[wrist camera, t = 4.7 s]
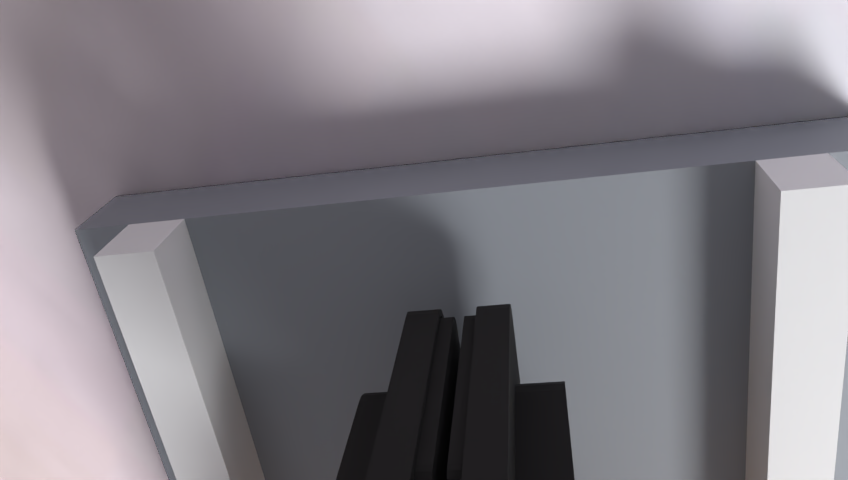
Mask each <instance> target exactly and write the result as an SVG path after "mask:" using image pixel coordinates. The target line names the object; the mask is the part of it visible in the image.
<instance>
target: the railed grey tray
mask: <svg viewBox="0 0 848 480" xmlns="http://www.w3.org/2000/svg"><path fill="white" fill-rule="evenodd" d="M75 232H76V235H77V237H78V240H79V243H80V245H81V248H82V251H83V253H84V256H85V259H86V261H87V264H88V267H89V269H90V272H91V274H92V277H93V280H94V282H95V285H96V288H97V290H98V293H99V296H100V298H101V301H102V304H103V306H104V309H105V312H106V314H107V317H108V319H109V322H110V325H111V327H112V330H113V333H114V335H115V338H116V341H117V343H118V346H119V349H120V351H121V354H122V356H123V359H124V362H125V364H126V367H127V370H128V372H129V375H130V378H131V380H132V383H133V386H134V388H135V391H136V394H137V396H138V399H139V401H140V404H141V407H142V409H143V412H144V415H145V417H146V420H147V423H148V425H149V428H150V431H151V433H152V436H153V438H154V441H155V444H156V446H157V449H158V452H159V454H160V457H161V460H162V462H163V465H164V468H165V470H166V473H167V476H168V478H169V480H336V477H337V474H338V471H339V467H340V464H341V461H342V457H343V454H344V451H345V447H346V444H347V440H348V437H349V434H350V430H351V427H352V424H353V420H354V417H355V413H356V410H357V407H358V403H359V400H360V398H361V396H362V395H363V394H364V393H376V392H387V391H388V387H389V383H390V379H391V375H392V371H393V367H394V363H395V359H396V355H397V351H398V347H399V343H400V339H401V334H402V330H403V326H404V322H405V318H406V315H407V312H409V311H422V310H435V309H441V310H442V312H443V315H444V318H446V317H455V319H456V323H457V329H458V336H459V343H460V348H461V339H462V331H463V322H464V316H473V315H476V308H477V306H488V305H501V304H511V309H512V316H513V325H514V333H515V342H516V350H517V359H518V367H519V376H520V384H527V383H544V382H561V381H565V388H566V398H567V408H568V418H569V428H570V438H571V448H572V458H573V468H574V478H575V480H848V117H841V118H832V119H823V120H813V121H804V122H795V123H786V124H777V125H768V126H758V127H749V128H740V129H731V130H722V131H712V132H703V133H694V134H685V135H676V136H666V137H657V138H648V139H639V140H630V141H621V142H611V143H602V144H593V145H584V146H575V147H565V148H556V149H547V150H538V151H529V152H520V153H510V154H501V155H492V156H483V157H474V158H464V159H455V160H446V161H437V162H428V163H419V164H409V165H400V166H391V167H382V168H373V169H363V170H354V171H345V172H336V173H327V174H317V175H308V176H299V177H290V178H281V179H272V180H262V181H253V182H244V183H235V184H226V185H216V186H207V187H198V188H189V189H180V190H171V191H161V192H152V193H143V194H134V195H125V196H116V197H115V198H113V199H112V200H111V201H110V202H109V203H107V204H106V205H105V206H104V207H102V208H101V209H100V210H99V211H98V212H96V213H95V214H94V215H93V216H91V217H90V218H89V219H88V220H86V221H85V222H84V223H83V224H82V225H80V226H79V227H78V228H77V229H75Z"/></svg>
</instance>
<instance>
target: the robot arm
mask: <svg viewBox="0 0 848 480" xmlns="http://www.w3.org/2000/svg"><path fill="white" fill-rule="evenodd" d="M336 480H575V478H574V468H573V458H572V448H571V438H570V428H569V418H568V408H567V398H566V388H565V381H561V382H544V383H527V384H520V376H519V367H518V359H517V350H516V342H515V333H514V325H513V316H512V309H511V304H501V305H488V306H477V308H476V315H473V316H464V322H463V331H462V339H461V348H460V343H459V336H458V329H457V323H456V319H455V317H446V318H444V315H443V312H442V310H441V309H435V310H422V311H409V312H407V315H406V318H405V322H404V326H403V330H402V334H401V339H400V343H399V347H398V351H397V355H396V359H395V363H394V367H393V371H392V375H391V379H390V383H389V387H388V391H387V392H376V393H364V394H363V395H362V396H361V398H360V400H359V403H358V407H357V410H356V413H355V417H354V420H353V424H352V427H351V430H350V434H349V437H348V440H347V444H346V447H345V451H344V454H343V457H342V461H341V464H340V467H339V471H338V474H337V477H336Z"/></svg>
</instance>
